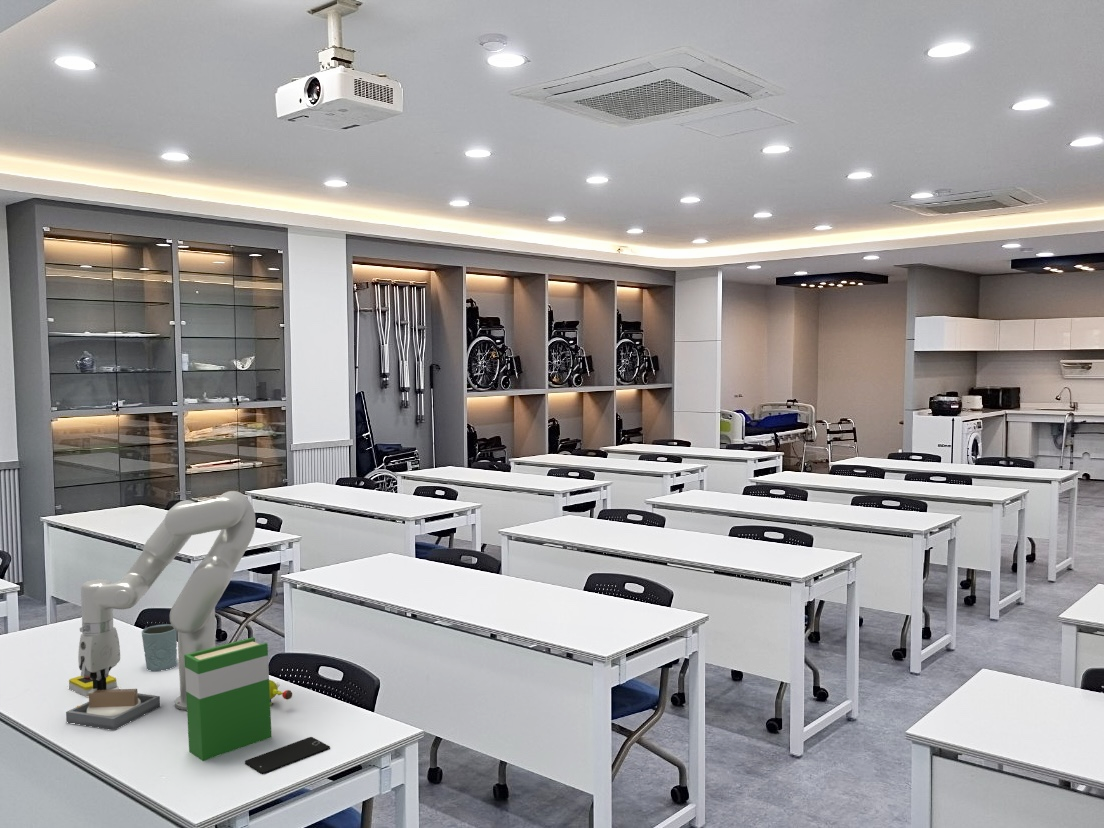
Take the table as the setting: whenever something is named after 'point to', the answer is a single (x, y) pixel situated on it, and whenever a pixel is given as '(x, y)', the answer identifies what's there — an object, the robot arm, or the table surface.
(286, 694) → the toy figure
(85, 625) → the robot arm
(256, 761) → the cell phone
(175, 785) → the table surface
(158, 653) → the teal cup
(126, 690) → the dial
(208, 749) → the hardback book
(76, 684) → the emergency button
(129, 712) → the dial housing
